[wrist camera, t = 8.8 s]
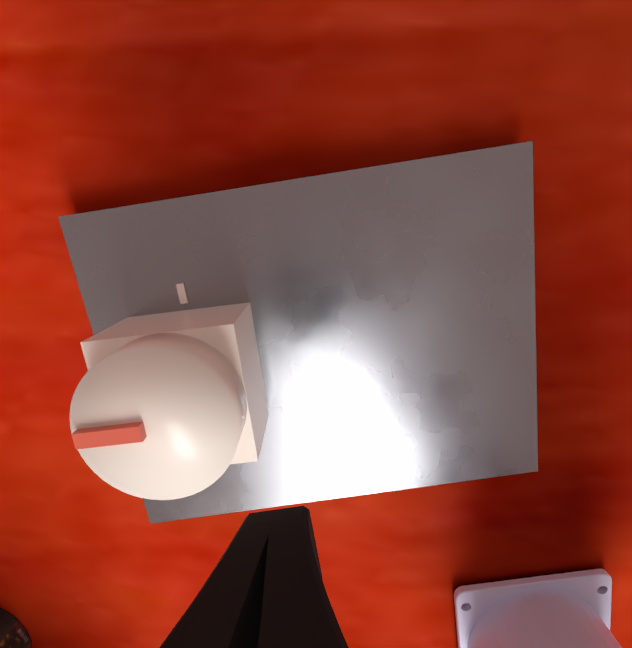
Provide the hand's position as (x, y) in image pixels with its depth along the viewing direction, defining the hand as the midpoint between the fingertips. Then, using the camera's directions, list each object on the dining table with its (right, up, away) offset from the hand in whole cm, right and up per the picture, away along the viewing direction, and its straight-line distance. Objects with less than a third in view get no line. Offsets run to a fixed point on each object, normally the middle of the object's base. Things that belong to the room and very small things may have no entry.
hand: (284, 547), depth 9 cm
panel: (+1, +4, +9) cm, 10 cm away
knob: (-4, +3, +8) cm, 10 cm away
